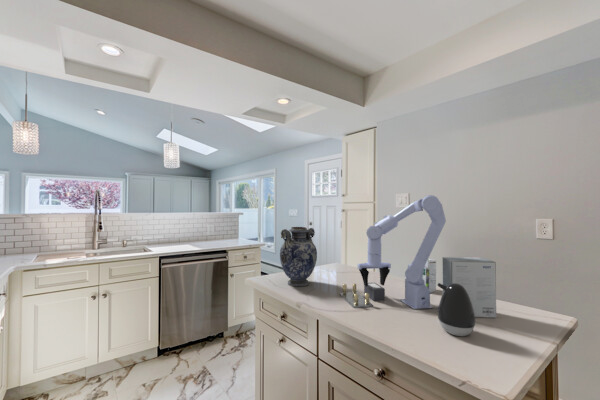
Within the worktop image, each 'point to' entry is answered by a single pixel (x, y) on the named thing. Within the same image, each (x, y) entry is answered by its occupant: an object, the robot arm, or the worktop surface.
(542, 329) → the worktop surface
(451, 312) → the pump dispenser
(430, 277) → the syrup box
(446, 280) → the hard drive box
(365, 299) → the brass peg board
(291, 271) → the decorative vase
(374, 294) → the block
